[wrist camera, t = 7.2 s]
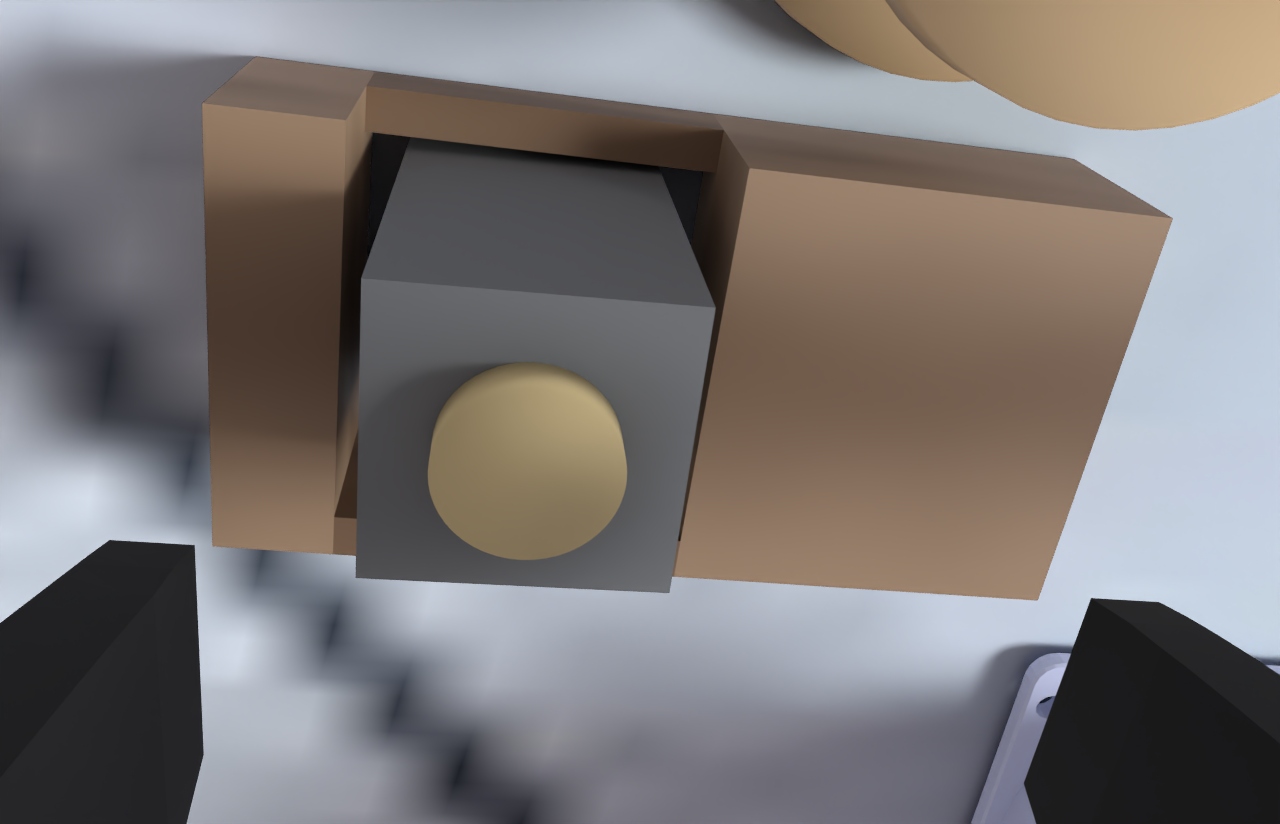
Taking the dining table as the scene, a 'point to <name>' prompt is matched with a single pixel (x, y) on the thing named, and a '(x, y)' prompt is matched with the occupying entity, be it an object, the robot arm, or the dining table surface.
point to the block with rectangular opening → (742, 329)
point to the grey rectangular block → (527, 372)
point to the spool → (1071, 52)
